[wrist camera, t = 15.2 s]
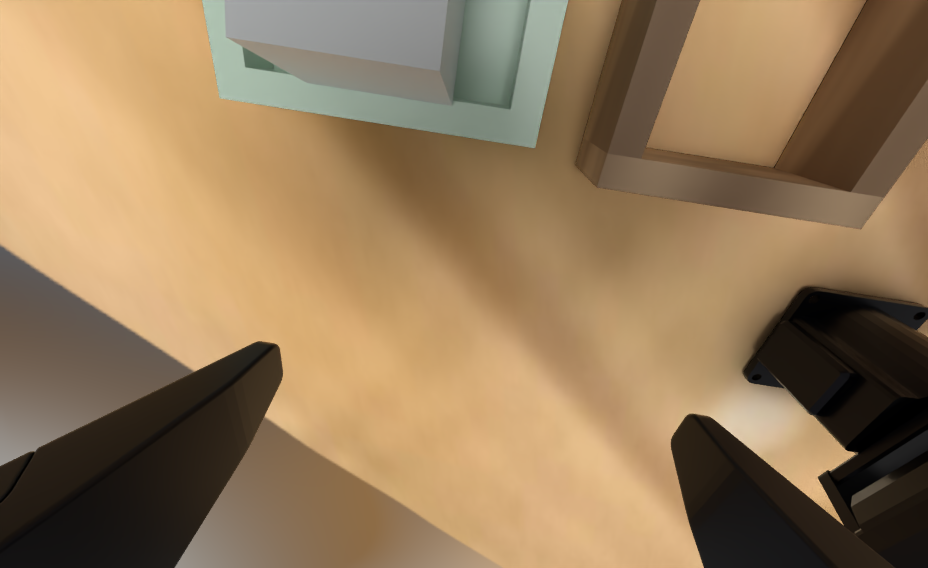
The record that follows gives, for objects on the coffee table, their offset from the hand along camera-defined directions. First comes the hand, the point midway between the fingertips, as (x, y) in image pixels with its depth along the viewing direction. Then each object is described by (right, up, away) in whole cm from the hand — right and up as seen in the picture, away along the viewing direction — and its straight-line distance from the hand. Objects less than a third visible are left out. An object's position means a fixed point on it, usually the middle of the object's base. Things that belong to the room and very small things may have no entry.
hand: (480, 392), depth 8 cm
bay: (+10, +11, +7) cm, 16 cm away
